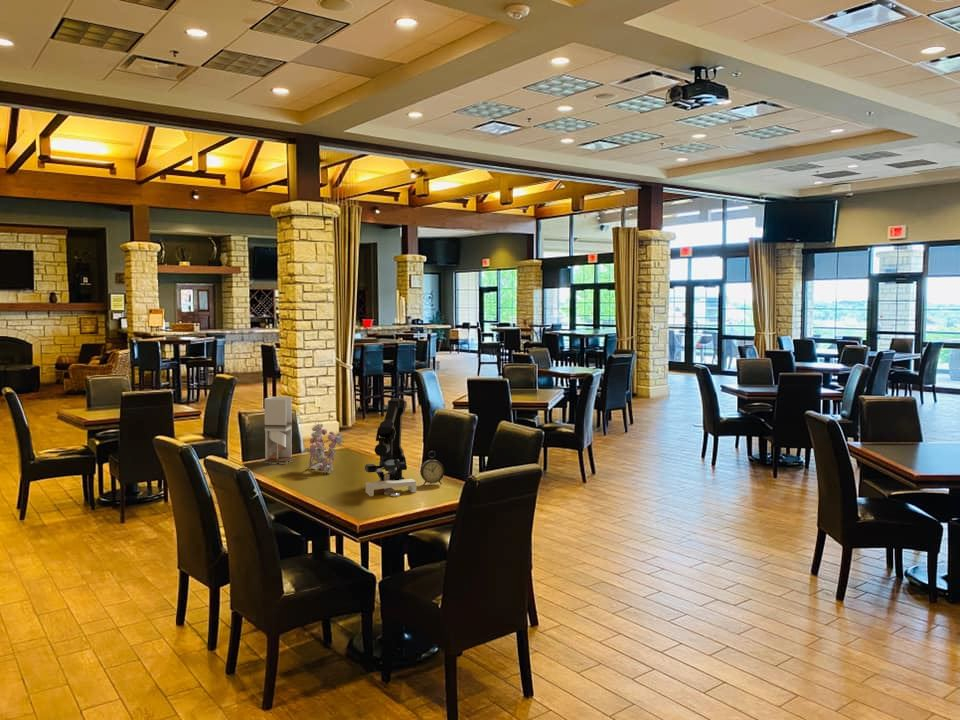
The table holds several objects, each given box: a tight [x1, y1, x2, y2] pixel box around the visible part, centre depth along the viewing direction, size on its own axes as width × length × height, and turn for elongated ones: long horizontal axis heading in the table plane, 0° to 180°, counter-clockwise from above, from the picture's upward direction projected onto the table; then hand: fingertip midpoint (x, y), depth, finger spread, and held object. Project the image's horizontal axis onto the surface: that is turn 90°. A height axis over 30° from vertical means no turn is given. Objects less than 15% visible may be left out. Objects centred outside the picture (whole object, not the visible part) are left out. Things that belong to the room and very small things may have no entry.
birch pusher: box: [383, 472, 403, 496], centre depth 342 cm, size 14×8×7 cm, turn 24°
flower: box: [300, 422, 345, 474], centre depth 381 cm, size 20×22×25 cm
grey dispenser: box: [264, 396, 293, 464], centre depth 401 cm, size 11×11×35 cm
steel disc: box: [389, 492, 401, 498], centre depth 333 cm, size 4×4×1 cm
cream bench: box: [365, 478, 417, 497], centre depth 338 cm, size 6×22×5 cm, turn 114°
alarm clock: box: [419, 450, 445, 486], centre depth 356 cm, size 11×5×16 cm, turn 105°
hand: (385, 485), depth 346 cm, fingers closed on birch pusher, 2 cm apart
